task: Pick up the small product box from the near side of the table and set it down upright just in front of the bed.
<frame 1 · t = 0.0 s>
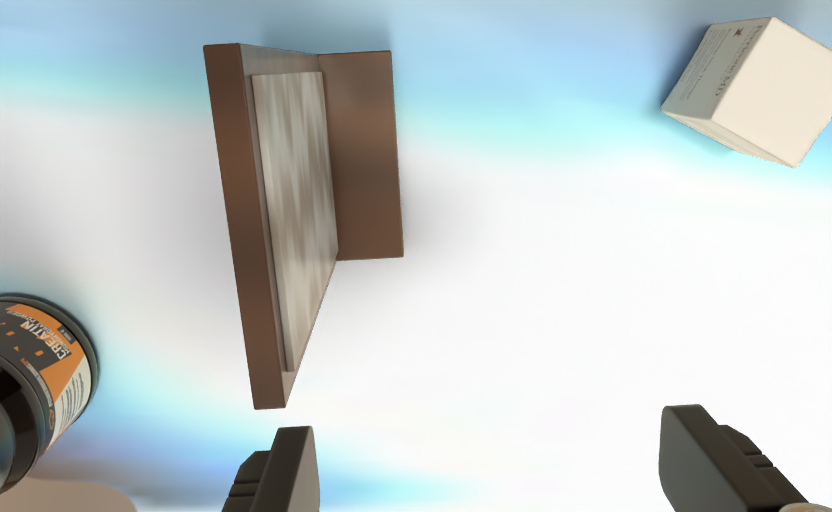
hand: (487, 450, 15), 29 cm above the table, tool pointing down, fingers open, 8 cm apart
product box: (720, 89, 41), on the table
supplement container: (30, 359, 46), on the table
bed: (336, 158, 42), on the table
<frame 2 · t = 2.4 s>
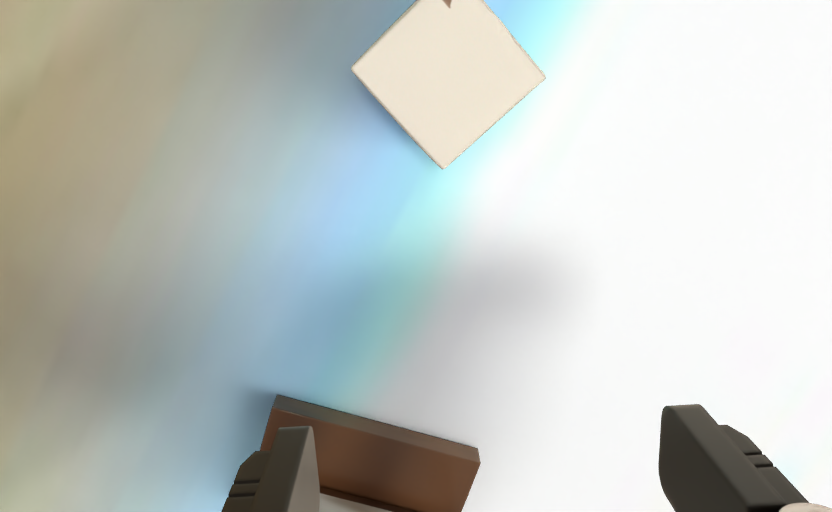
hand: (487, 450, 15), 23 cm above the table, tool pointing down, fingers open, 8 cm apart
product box: (438, 70, 34), on the table
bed: (361, 474, 41), on the table
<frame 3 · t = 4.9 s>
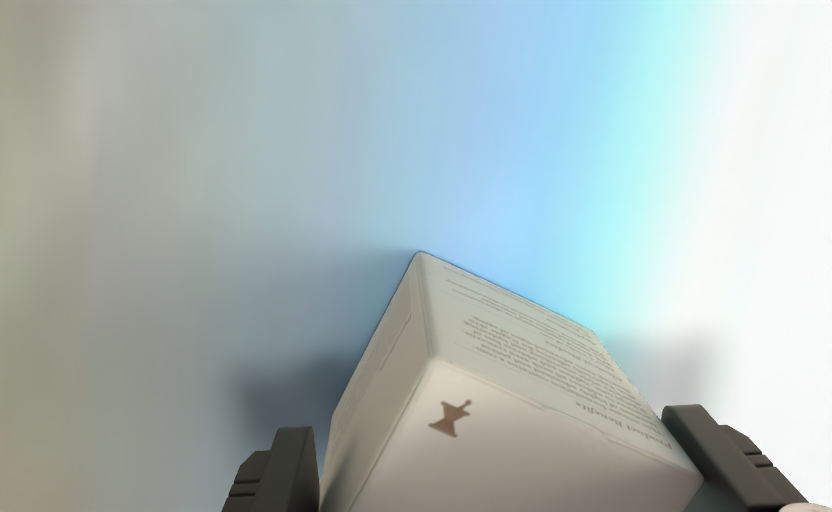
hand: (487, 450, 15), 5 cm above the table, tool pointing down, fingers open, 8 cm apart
product box: (461, 370, 20), on the table
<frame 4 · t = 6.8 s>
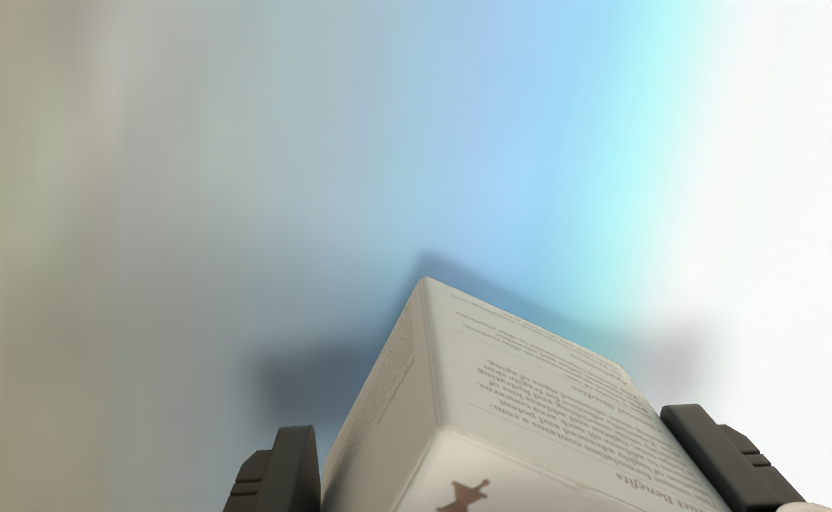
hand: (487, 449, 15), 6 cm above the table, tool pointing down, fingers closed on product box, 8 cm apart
product box: (471, 408, 17), point 3 cm above the table, touching gripper
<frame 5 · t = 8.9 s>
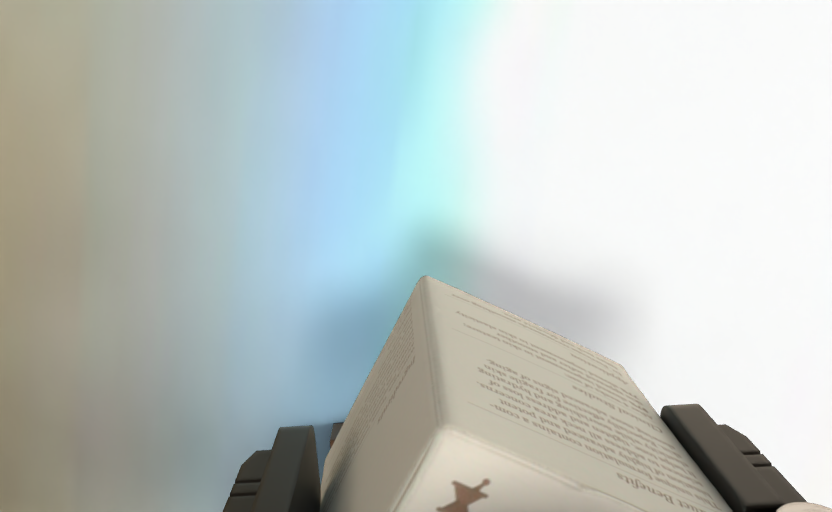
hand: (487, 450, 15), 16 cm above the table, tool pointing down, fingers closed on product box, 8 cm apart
product box: (471, 408, 17), point 13 cm above the table, touching gripper
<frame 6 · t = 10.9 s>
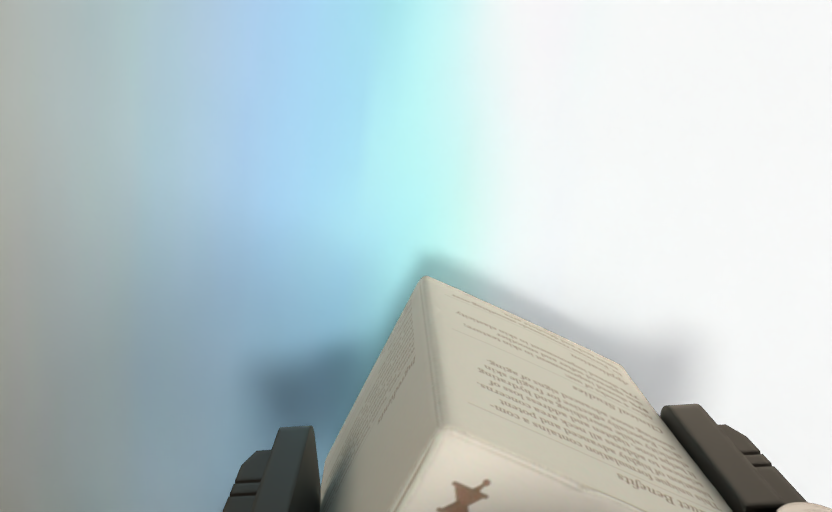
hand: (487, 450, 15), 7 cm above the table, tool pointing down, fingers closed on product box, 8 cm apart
product box: (472, 408, 17), point 4 cm above the table, touching gripper
when the fingers open (2 cm above the table, at t = 12.6 s): product box stays where it is, on the table.
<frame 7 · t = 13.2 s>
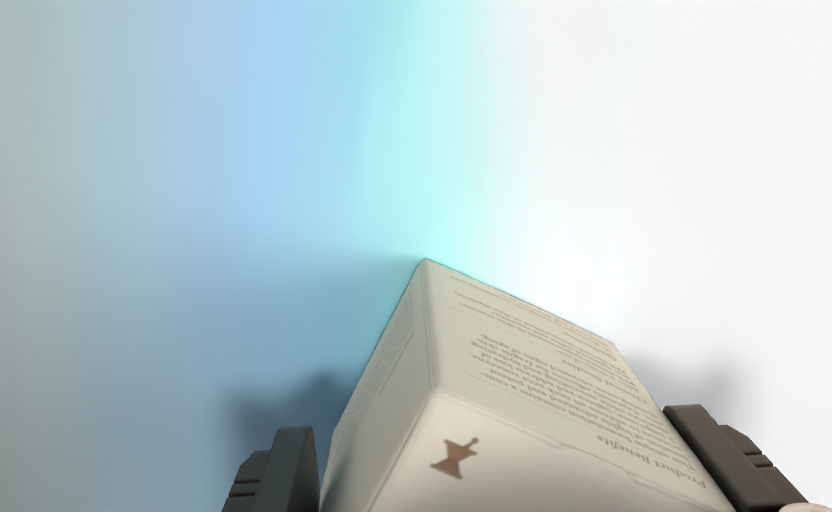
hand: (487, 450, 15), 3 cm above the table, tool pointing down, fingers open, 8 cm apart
product box: (471, 385, 18), on the table, touching gripper
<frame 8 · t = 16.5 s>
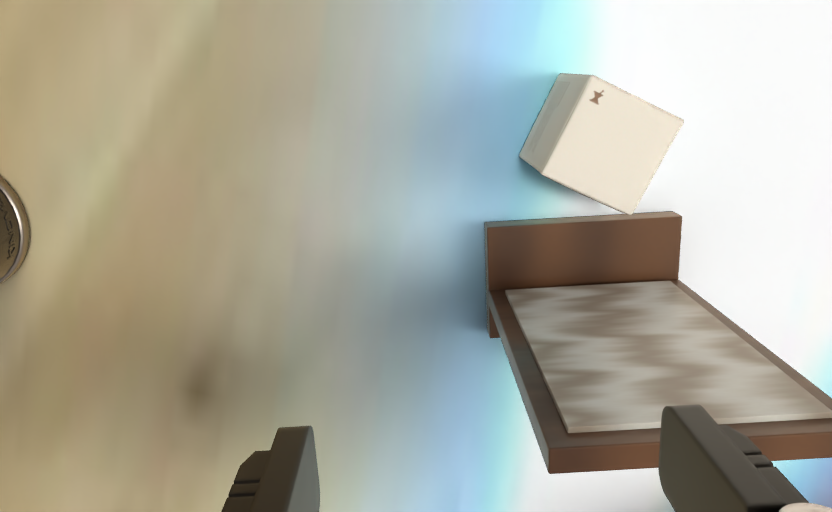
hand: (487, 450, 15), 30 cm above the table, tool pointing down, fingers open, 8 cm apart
product box: (576, 133, 43), on the table
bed: (577, 271, 45), on the table
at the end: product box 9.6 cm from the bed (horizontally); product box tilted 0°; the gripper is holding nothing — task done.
